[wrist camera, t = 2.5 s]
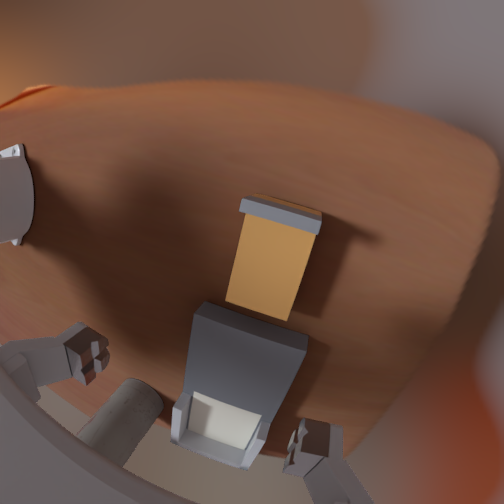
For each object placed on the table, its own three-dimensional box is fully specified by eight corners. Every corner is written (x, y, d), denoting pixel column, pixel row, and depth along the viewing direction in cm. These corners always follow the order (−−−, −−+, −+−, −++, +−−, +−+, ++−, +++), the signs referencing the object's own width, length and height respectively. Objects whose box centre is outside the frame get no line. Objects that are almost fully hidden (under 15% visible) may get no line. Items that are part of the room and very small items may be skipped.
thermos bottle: (119, 389, 41) (27, 491, 15) (131, 370, 38) (22, 489, 12) (154, 417, 41) (74, 528, 14) (170, 402, 38) (78, 534, 12)
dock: (185, 416, 38) (170, 442, 32) (205, 300, 30) (181, 327, 25) (256, 441, 36) (247, 470, 31) (308, 335, 29) (304, 370, 23)
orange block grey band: (235, 286, 29) (216, 313, 23) (259, 192, 26) (242, 198, 20) (290, 304, 28) (282, 335, 22) (321, 210, 25) (322, 221, 19)
